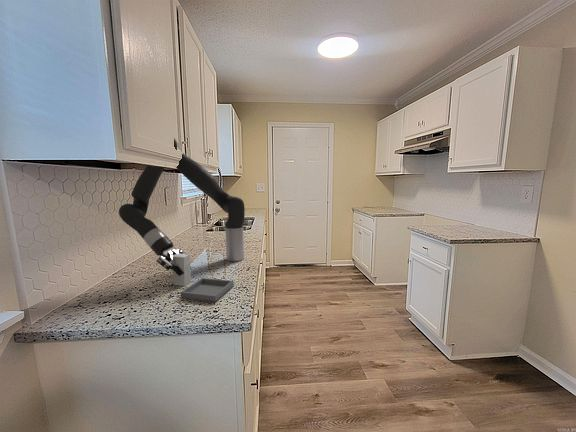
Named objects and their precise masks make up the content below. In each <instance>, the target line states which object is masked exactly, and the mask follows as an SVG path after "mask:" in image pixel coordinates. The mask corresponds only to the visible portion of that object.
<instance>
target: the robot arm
mask: <svg viewBox="0 0 576 432" xmlns="http://www.w3.org/2000/svg"><path fill="white" fill-rule="evenodd" d="M174 147H175V149H176V150H177V147H178V141H177V139H176V138H175V137H174ZM178 148H179V147H178ZM165 168H166V166H165V167H152V166H147V165H146V166H145V167H144V169H143V171H142V172H141V174H140V175H139V177H138V179H137V181H136V183H135V184H134V187H133V189H132V190H131V197H132V198H133V201H132V202H133V203H125V204H122V205H121V206H120V207H119V209H118V215H119V217H120V219H121V220H122V221H123V222H124V223H125V224H126V225H127V226H129V227H130V228H132V229H133V230H135V231H136V233H137V234H138V235H139V236H140V237H141V238H142V239H143V240H144V242H145V243H146V245H147V246H148V247H149V249H151V250H152V251H153V253H154V254H156V256H158V258H157V260H156V261H155V262H157V264H159V265H160V266H161V267H163V269H166V270H167V271H169V270H174V271H175V272H176V274H177V275H179V276H181V275H182V274H183V271H182V270H181V269H180V268H179V267H178V266H177V264H176V263H175V259H174V258H173V257H172V256H173V255H176V254H178V253H180V254H186V252H185V251H184V249H183V248H182V247H180V248H179V249H177V248H176V247H174V243H173V242H172V240H171V239H170V238H169V237H168V236H167V235H166V233H164V232H163V231H162V230H161V229H160V228H159V227H158V226H157V225H156V224H155V223H154V222H153V221H152V220H151V219H150V218H147V217H145V216H146V215H147V212H148V207H149V203H150V198H151V197H152V195H153V193H154V191H155V188H156V186H157V184H158V182H159V179H160V177H161V176H162V174H163V171H164V169H165ZM175 168H176V169H177V171H179V173H181V174H182V175H183V176H184V177H185V178H186V179H187V180H188V182H190V183H191V184H192V185H194V186H195V187H196V188H197V189H199V190H200V191H201V192H202V193H203V194H205V195H207V196H208V197H209V198H211V199H212V200H213V201H214V202H215V203H216V204H217V205H218V206H219V207H220V208H221V210H222V211H223V212H225V213H226V214H227V221H225V223H224V228H225V230H224V231H225V233H224V234H225V249H226V253H225V254H226V256H225V257H226V261H228V262H239V261H242V260H244V259H245V245H244V244H245V240H244V223H245V209H246V208H245V201H244V200H243V199H242V198H241V197H239V196H233V195H231V194H229V193H228V192H227V191H225V190H224V189H223V188H222V187H221V186H220V184H219V182H218V180H217V179H216V178H215V177H214V175H213V174H212V173H211V172H210V171H209V170H207V169H206V168H205V167H204V166H203V165H202V164H200V163H199V162H197V161H196V160H194V159H192V158H190V157H189V156H188V155H186V154H185V153H184V152H183V154H182V159H181V160H180V161H179V165H178V166H177V167H175Z"/></svg>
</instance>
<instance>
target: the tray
mask: <svg viewBox="0 0 576 432" xmlns="http://www.w3.org/2000/svg"><path fill="white" fill-rule="evenodd" d="M234 285H235V283H234V280H229V279H220V278H219V279H218V278H208V277H207V278H206V277H200V279H198V280H196V281H195V282H194V283H192V284H190V285H189V286H187V287H186V288H185V289H183V290H182V291H180V294H179V295H180V299H181V300H182V299H183V300H190V301H198V302H205V303H206V302H207V303H215V304H216V303H217V302H219V301H220V300H221V299H222V298H223V297H224V296H226V294H227V293H229V292H230V291H231V290H232V289H233V288H234Z"/></svg>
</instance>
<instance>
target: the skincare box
mask: <svg viewBox="0 0 576 432" xmlns="http://www.w3.org/2000/svg"><path fill="white" fill-rule="evenodd" d="M172 257H173V258H174V259H175V263H176V264H177V266H178V267H179V268H180V269H181V270H182V271H183V274H182V275H181V276H179V275H177V274H176V272H175V271H174V270H172V269H171V270H172V271H171V273H172V285H175V286H180V287H185V286H188V285H189V284H190V283H192V274H191V273H192V272H191V269H192V267H191V254H189V253H185V254H180V253H178V254H176V255H173V256H172Z"/></svg>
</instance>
